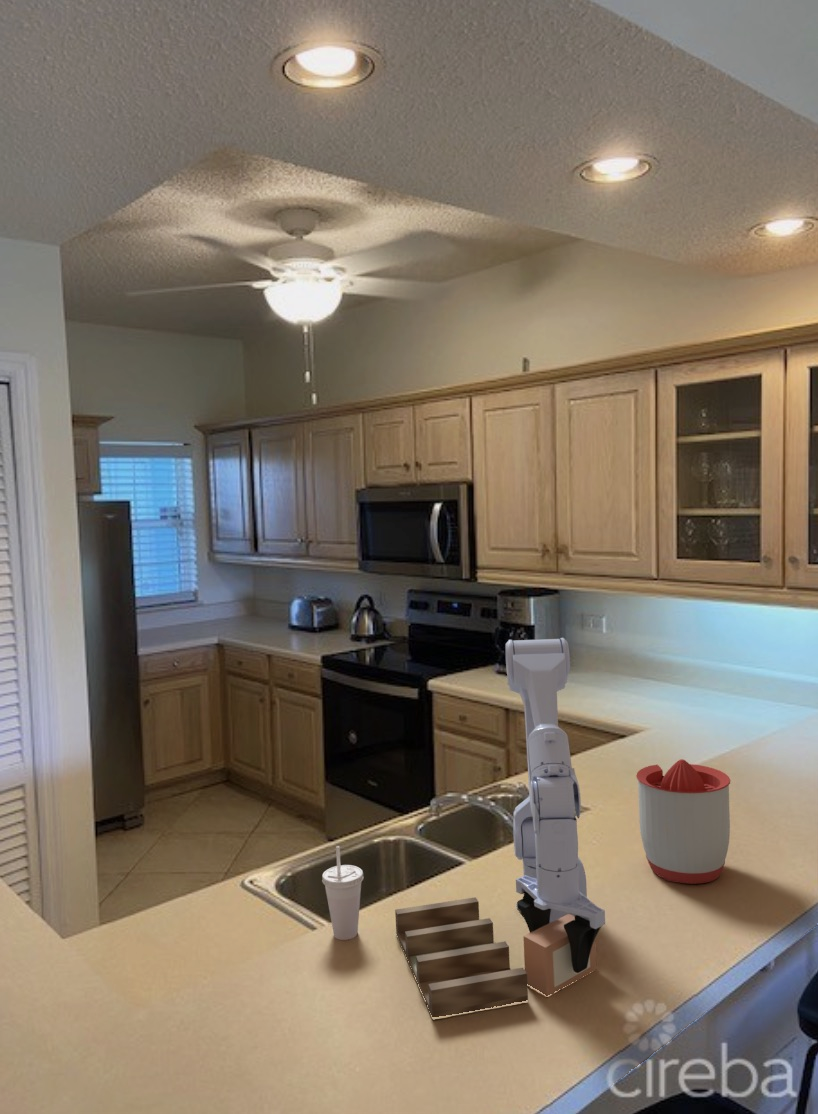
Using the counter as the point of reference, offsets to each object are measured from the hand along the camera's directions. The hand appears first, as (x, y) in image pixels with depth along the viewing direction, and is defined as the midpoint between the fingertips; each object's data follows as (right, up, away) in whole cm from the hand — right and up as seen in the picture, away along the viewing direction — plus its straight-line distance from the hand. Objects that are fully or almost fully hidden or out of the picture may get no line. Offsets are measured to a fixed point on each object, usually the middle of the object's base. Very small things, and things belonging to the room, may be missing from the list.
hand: (560, 958), depth 114 cm
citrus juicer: (+28, 0, +32) cm, 42 cm away
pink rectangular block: (0, -3, 0) cm, 3 cm away
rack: (-14, -3, +4) cm, 15 cm away
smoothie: (-31, -4, +15) cm, 34 cm away
